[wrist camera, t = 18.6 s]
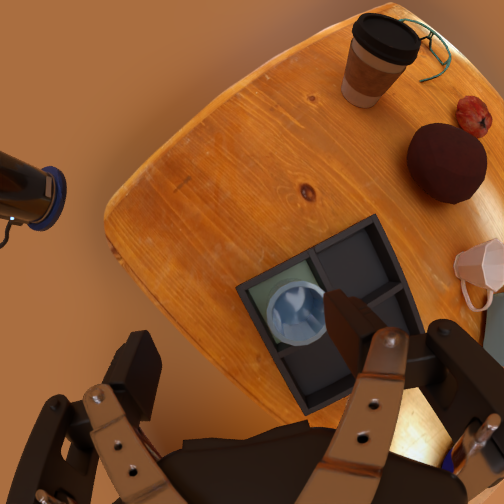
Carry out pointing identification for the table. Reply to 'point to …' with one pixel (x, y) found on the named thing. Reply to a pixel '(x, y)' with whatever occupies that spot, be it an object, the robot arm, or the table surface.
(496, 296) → the teapot
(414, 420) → the table surface
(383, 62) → the coffee cup
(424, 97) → the table surface
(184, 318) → the table surface
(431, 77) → the sunglasses
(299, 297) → the blue cup
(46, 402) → the robot arm
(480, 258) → the cup
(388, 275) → the black divided tray
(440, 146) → the dark brown oval ball
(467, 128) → the pomegranate
